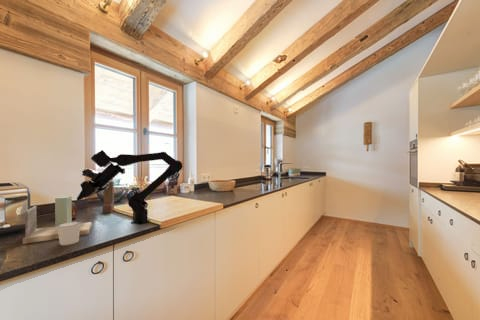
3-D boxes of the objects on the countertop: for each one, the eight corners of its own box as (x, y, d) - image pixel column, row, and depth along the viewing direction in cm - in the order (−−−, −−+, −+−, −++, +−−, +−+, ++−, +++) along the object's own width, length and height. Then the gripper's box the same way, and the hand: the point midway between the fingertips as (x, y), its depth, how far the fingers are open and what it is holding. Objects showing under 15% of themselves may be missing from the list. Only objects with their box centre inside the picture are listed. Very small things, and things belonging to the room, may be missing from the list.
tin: (78, 218, 110) (77, 203, 110) (70, 220, 107) (70, 204, 107) (66, 214, 118) (66, 200, 118) (59, 216, 115) (59, 201, 115)
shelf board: (91, 226, 98) (91, 200, 98) (88, 234, 88) (88, 205, 88) (33, 233, 88) (33, 205, 88) (22, 244, 78) (22, 212, 78)
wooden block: (111, 213, 121) (111, 182, 121) (102, 214, 119) (102, 182, 119) (113, 209, 129) (113, 180, 129) (105, 210, 128) (105, 181, 127)
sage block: (71, 225, 99) (71, 196, 99) (66, 228, 95) (66, 197, 95) (60, 226, 98) (60, 196, 98) (55, 229, 94) (55, 198, 94)
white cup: (54, 247, 75) (54, 228, 75) (61, 240, 81) (61, 222, 81) (77, 244, 78) (77, 225, 78) (83, 237, 84) (82, 220, 84)
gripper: (102, 162, 109) (78, 183, 106) (85, 163, 90) (55, 189, 88) (119, 176, 110) (96, 198, 108) (106, 180, 92) (77, 206, 90)
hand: (82, 197), depth 98 cm, fingers open, 9 cm apart
